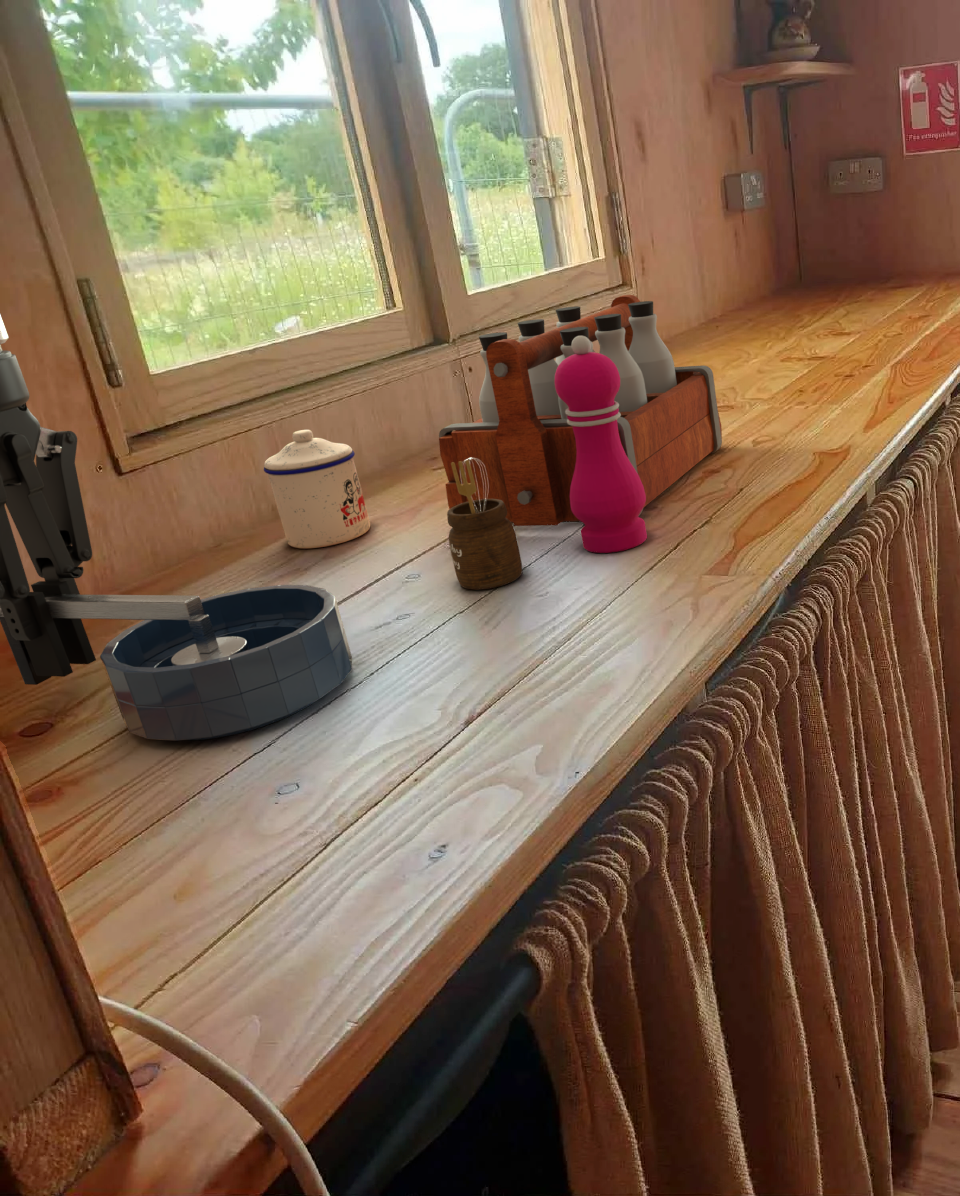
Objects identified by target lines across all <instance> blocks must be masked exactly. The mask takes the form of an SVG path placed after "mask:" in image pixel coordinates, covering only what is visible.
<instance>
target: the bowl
mask: <svg viewBox="0 0 960 1196" xmlns="http://www.w3.org/2000/svg"><path fill="white" fill-rule="evenodd" d="M200 600H201V603H202V606H203V609H204V614H202V615H209V618H210V621H211V624H212V627H213V630H214V633H215V636H216V638H220V637H233V636H234V637H241V638H244V639H245V640H246V641H247V644H248V647H249V650H247V651H244V652H241V653H237V654H234V655H231V656H227V657H222V658H217V659H213V660H208V661H204V662H199V663H194V664H186V665H177V666H172V663H171V658H172V657H173V656H174V655H175V654H176V653H177V652H179V651H180V650H182V649H184V648H186V647H188V646H191V645H193V644H196V643H195V640H194V637H193V634H192V631H191V628H190V625H189V622H188V620H142V621H140V622H138V623H136V624H134V625H132V626H130V627H128V628H126V629H124V630H122V631H121V632H120V633H119V634H117V635H116V636H114V638H112V639H111V640H110V641H108V642H107V643H106V644H105V646H104V648H103V650H102V652H101V654H100V656H99V657H100V660H101V663H102V666H103V668H104V671H105V675H106V677H107V679H108V682H109V685H110V689H111V691H112V694H113V696H114V699H115V701H116V704H117V707H118V710H119V712H120V715H121V718H122V720H123V723H124V724H125V726H126V728H127V731H128V732H129V733H130V734H133V735H136V736H139V737H141V738H144V739H147V740H158V741H160V740H161V741H199V740H200V741H202V740H210V739H217V738H224V737H229V736H233V735H239V734H242V733H246V732H249V731H254V730H256V729H260V728H263V727H266V726H269V725H271V724H274V723H277V722H279V721H281V720H284V719H286V718H289V717H291V716H292V715H294V714H297V713H299V712H301V711H303V710H304V709H307V708H308V707H309V706H311V705H313V704H314V703H316V702H317V701H319V700H320V699H321V698H323V697H324V696H326V695H327V694H330V692H331V691H333V690H334V689H335V688H338V686H340V685H341V684H342V683H343V682H344V681H345V679H346V678H347V677H348V675H350V673H351V671H353V656H352V652H351V649H350V645H349V641H348V638H347V634H346V630H345V628H344V624H343V619H342V616H341V612H340V609H339V604H338V602H337V598H336V596H335V595H334V594H333V593H331V592H330V591H329V590H327V589H326V588H323V587H318V586H312V585H308V584H277V585H268V586H258V587H250V588H245V589H239V590H234V591H230V592H229V591H228V592H225V593H220V594H216V595H212V596H207V597H205V598H200Z"/></svg>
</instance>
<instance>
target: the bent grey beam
mask: <svg viewBox="0 0 960 1196" xmlns="http://www.w3.org/2000/svg"><path fill="white" fill-rule="evenodd" d="M44 597H45V599H46V603H47V606H48V608H49V611H50V614H51V616H52V618H69V619H81V620H130V621H132V620H133V621H135V620H136V621H137V620H138V621H141V620H142V621H144V620H188V622H189V625H190V628H191V631H192V634H193V637H194V640H195V643H196V644H193V645H191V646H188V647H186V648H184V649H182V650H180V651H179V652H177V653H176V654H175V655H174V656H173V657H172V658H171V663H172V666H177V665H186V664H194V663H199V662H204V661H208V660H213V659H217V658H222V657H227V656H231V655H234V654H237V653H241V652H244V651H247V650H249V647H248V644H247V641H246V640H245V639H244V638H241V637H234V636H233V637H220V638H216V636H215V633H214V630H213V627H212V624H211V621H210V618H209V615H202V614H204V609H203V606H202V603H201V597H200V595H177V594H175V595H173V594H172V595H171V594H163V595H162V594H80V595H71V594H44ZM0 624H1V627H2V630H3V632H4V635H5V637H6V640H7V642H8V646H9V648H10V649H11V653H12V654H13V655H12V656H13V657H14V660H15V662H16V665H17V668H18V670H19V674H20V676H21V678H22V681H23V683H24V685H26V686H27V685H29V686H30V685H31V686H35V685H36V686H37V685H40V684H41V683H43V682H45V681H47V680H49V679H51V678H52V676H37V674H36V672H35V669H34V667H33V664H32V662H31V659H30V657H29V654H28V652H27V649H26V646H25V644H24V641H23V640H16V639H15V638H14V637H13V636H12V635H11V633H10V630H9V627H8V625H7V622H6V620H5V618H4V615H3V613H2V610H1V608H0Z"/></svg>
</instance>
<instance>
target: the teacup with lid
mask: <svg viewBox="0 0 960 1196" xmlns="http://www.w3.org/2000/svg"><path fill="white" fill-rule="evenodd" d="M291 436H292V439H293V441H292V442H289V443H288V444H286V445H285V446H283V448H281V450H280V451H278V452H277V453H275V454H274V455H272V456H270V457H268V458H267V459H266V460H265V461H264V464H263V472H264V473H266V475H267V477H268V481H269V484H270V488H271V491H272V495H273V498H274V502H275V506H276V508H277V512H278V515H279V519H280V523H281V526H282V529H283V533H284V536H285V540H286V543H287V544H288V545H289V546H290V547H292V548H295V549H317V548H323V547H324V548H326V547H330V546H336V545H338V544H343V543H346V542H349V541H352V540H354V539H357V538H358V537H360V536H363V535H364V534H366V533H367V532H368V531H369V530H370V528H371V521H370V517H369V514H368V510H367V506H366V501H365V499H364V494H363V489H362V486H361V483H360V479H359V475H358V471H357V467H356V464H355V459H354V457H355V451H354V450H353V448H352V447H351V446H350V445H348V444H346V443H342V442H341V443H340V442H333V441H329V440H327V439H326V438H322V437H314V433H313V431H312V430H311V429H300V430H296V431H294V432H292V435H291Z"/></svg>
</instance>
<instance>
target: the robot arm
mask: <svg viewBox="0 0 960 1196" xmlns="http://www.w3.org/2000/svg"><path fill="white" fill-rule="evenodd" d="M8 339H9V334H8V332H7V328H6V326H5V323H4V321H3V318H2V315H1V314H0V608H1V610H2V613H3V615H4V618H5V620H6V622H7V625H8V627H9V630H10V633H11V635H12V636H13V637H14V638H15V639H16V640H23V641H24V644H25V646H26V649H27V652H28V654H29V657H30V659H31V662H32V664H33V667H34V669H35V672H36V674H37V676H51V677H61V678H62V677H63V678H65V677H66V676H69V675H70V674H73V672H74V671H73V668H72V666H71V665H90V664H92V663H93V662H96V661H97V659H96V655H95V654H94V650H93V648H92V645H91V642H90V639H89V637H88V634H87V631H86V629H85V626H84V622H83V621H82V620H83V619H69V618H52V616H51V614H50V611H49V608H48V606H47V603H46V599H45V597H44V594H71V595H81V593H80V591H79V588H78V585H77V583H76V580H75V579H79V578H81V577H82V576H83V574H84V566H81V565H82V563H83V562H89V561H90V560H92V557H93V549H92V545H91V537H90V534H89V528H88V523H87V519H86V518H87V517H86V513H85V508H84V502H83V498H82V492H81V488H80V481H79V477H78V472H77V466H76V455H77V447H78V436H77V434H76V433H75V432H73V431H72V430H58V431H57V430H53V429H51V428H47V427H43V426H41V424H40V422H39V420H38V418H36V416H34V415H33V413H32V412H31V411H30V409H29V408H28V406H27V405H28V404H27V403H28V401H29V399H30V392H29V389H28V386H27V383H26V381H25V378H24V375H23V372H22V370H21V367H20V364H19V361H18V359H17V355H16V354H15V353H14V354H12V352H11V350H7V349H6V350H4V349H3V347H2V344H5V343H6V342H7V341H8ZM6 508H7V510H8V513H9V515H10V517H11V520H12V522H13V523H14V526H15V529H16V531H17V533H18V535H19V537H20V539H21V541H22V543H23V545H24V548H25V550H26V552H27V554H28V557H29V558H30V560H31V563H32V565H33V567H34V570H35V571H36V574H37V576H39V578H42V579H44V580H39V581H36V582H34V583H31V584H29V581H28V577H27V575H26V571H25V568H24V565H23V561H22V558H21V556H20V552H19V548H18V545H17V542H16V539H15V535H14V532H13V529H12V525H11V523H10V518H9V516H8V513H7V510H6ZM30 588H31V589H30ZM31 590H32V591H31Z"/></svg>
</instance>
